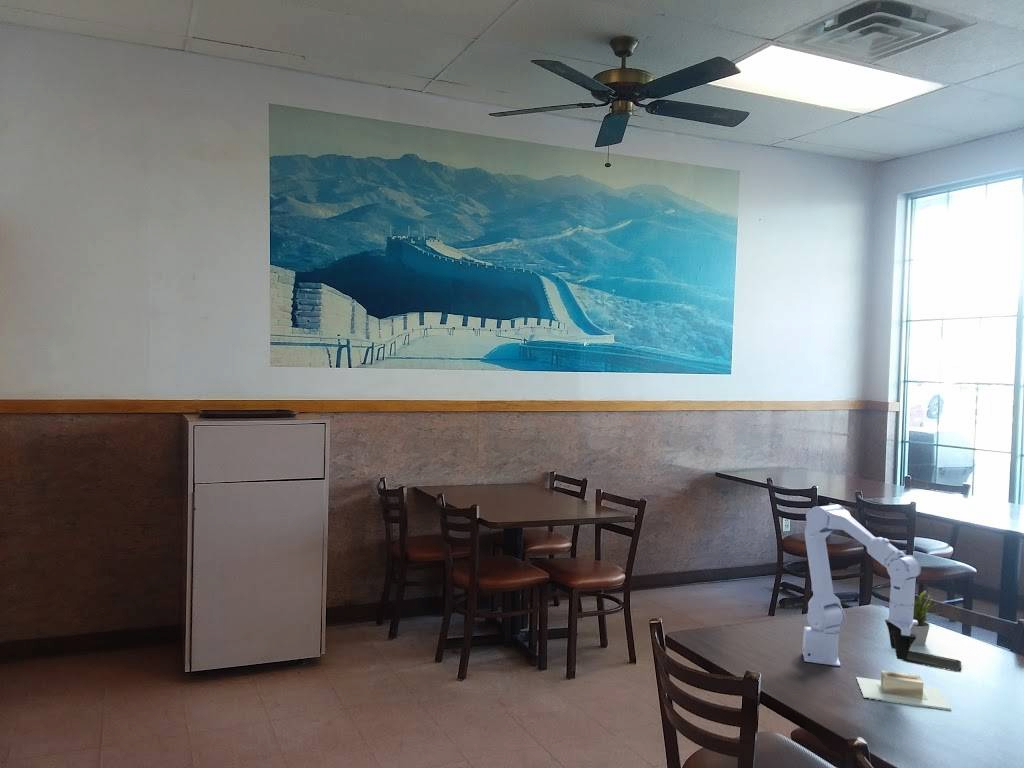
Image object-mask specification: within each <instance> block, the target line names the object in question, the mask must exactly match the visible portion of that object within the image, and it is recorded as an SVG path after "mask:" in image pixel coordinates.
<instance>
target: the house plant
mask: <svg viewBox="0 0 1024 768" xmlns="http://www.w3.org/2000/svg"><path fill="white" fill-rule="evenodd" d="M926 595H927V590H926V589H925V590H924V591H922V592H920V594H919V596H918V597H917V600H916V598H914V613H913V620H917V621H918V625H915V624H914V625H913V626H912V627H911V630H910V634H915V635H916V639H915V640H914V642H913V643H912V645H911V646H913V645H914V646H916V647H917V646H918V647H923V646H926V643H927V639H928V634H929V630H930V626H931V625H930V623H929V621H930V619H929V618H928V619H927V617H929V616H931V615H933V614H937V615H940V613H938V612H931V613H929V614H927V615H926V613H927V612H928V611H929V610H930V609H931V608H933V606H935V605H936V604H937V602H936V603H934V604H932V600H933V596H932V597H931V598H930V594H928V596H927V598H926V600H925V601H924V599H925V597H926ZM929 599H930V600H929ZM923 603H924V604H923ZM931 604H932V605H931ZM930 605H931V606H930ZM927 621H928V622H927Z"/></svg>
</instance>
